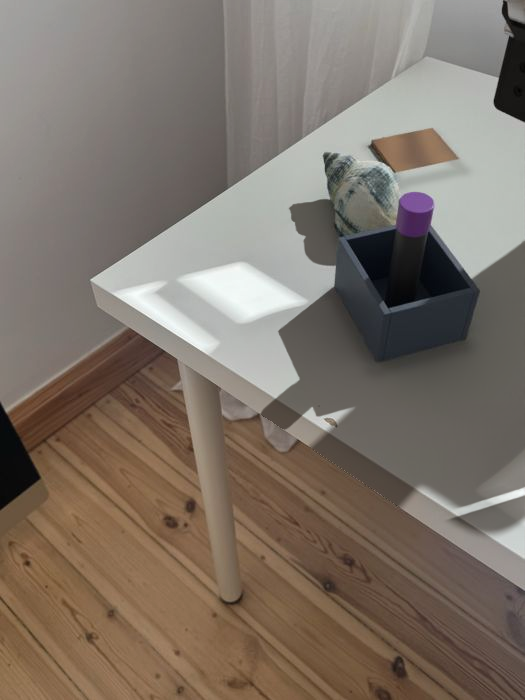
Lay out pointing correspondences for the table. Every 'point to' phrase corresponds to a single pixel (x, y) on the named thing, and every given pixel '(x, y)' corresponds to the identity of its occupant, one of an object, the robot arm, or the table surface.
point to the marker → (408, 247)
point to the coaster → (413, 150)
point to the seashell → (361, 193)
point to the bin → (409, 319)
